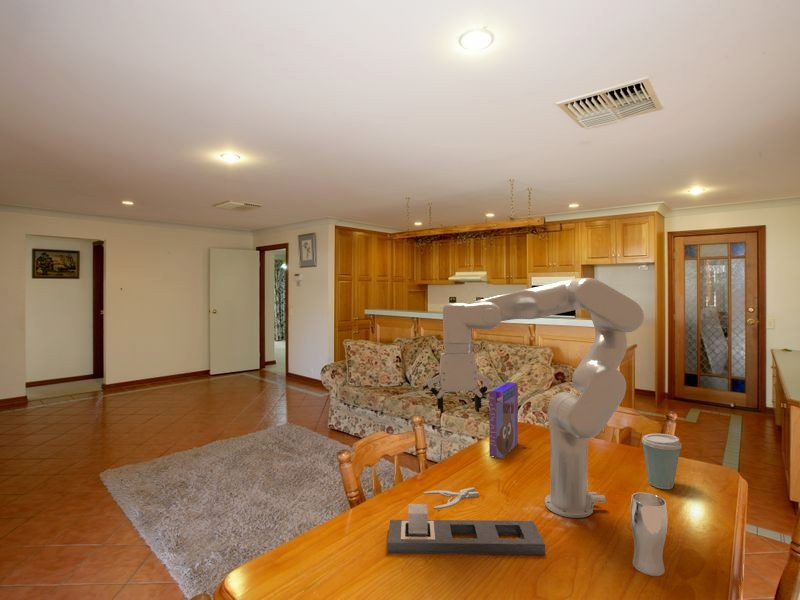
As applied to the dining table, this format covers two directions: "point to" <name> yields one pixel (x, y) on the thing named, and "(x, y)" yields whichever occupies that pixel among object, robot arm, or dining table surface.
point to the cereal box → (503, 419)
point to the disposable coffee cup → (661, 459)
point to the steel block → (417, 520)
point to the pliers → (463, 494)
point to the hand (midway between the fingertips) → (459, 411)
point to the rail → (482, 543)
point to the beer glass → (648, 532)
